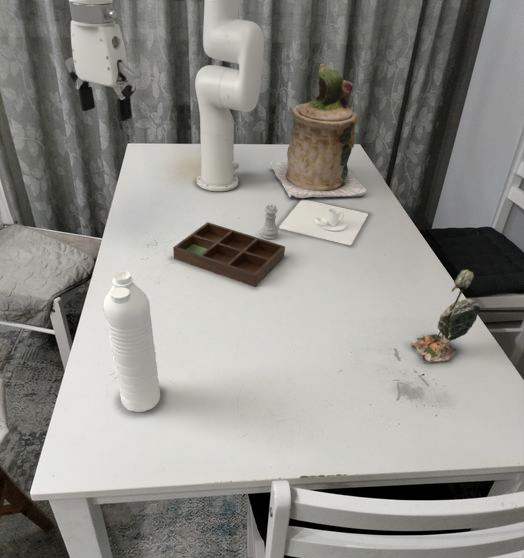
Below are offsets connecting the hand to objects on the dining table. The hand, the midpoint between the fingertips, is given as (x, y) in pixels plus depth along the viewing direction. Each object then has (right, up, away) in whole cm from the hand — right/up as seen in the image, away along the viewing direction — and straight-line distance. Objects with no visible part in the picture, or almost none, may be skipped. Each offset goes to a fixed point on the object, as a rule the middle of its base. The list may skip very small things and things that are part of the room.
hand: (107, 114), depth 102 cm
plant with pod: (+66, -48, -2) cm, 82 cm away
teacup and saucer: (+49, -12, +36) cm, 62 cm away
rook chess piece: (+33, -18, +28) cm, 47 cm away
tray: (+24, -26, +19) cm, 40 cm away
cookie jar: (+48, +4, +55) cm, 73 cm away
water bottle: (+11, -57, -17) cm, 61 cm away
